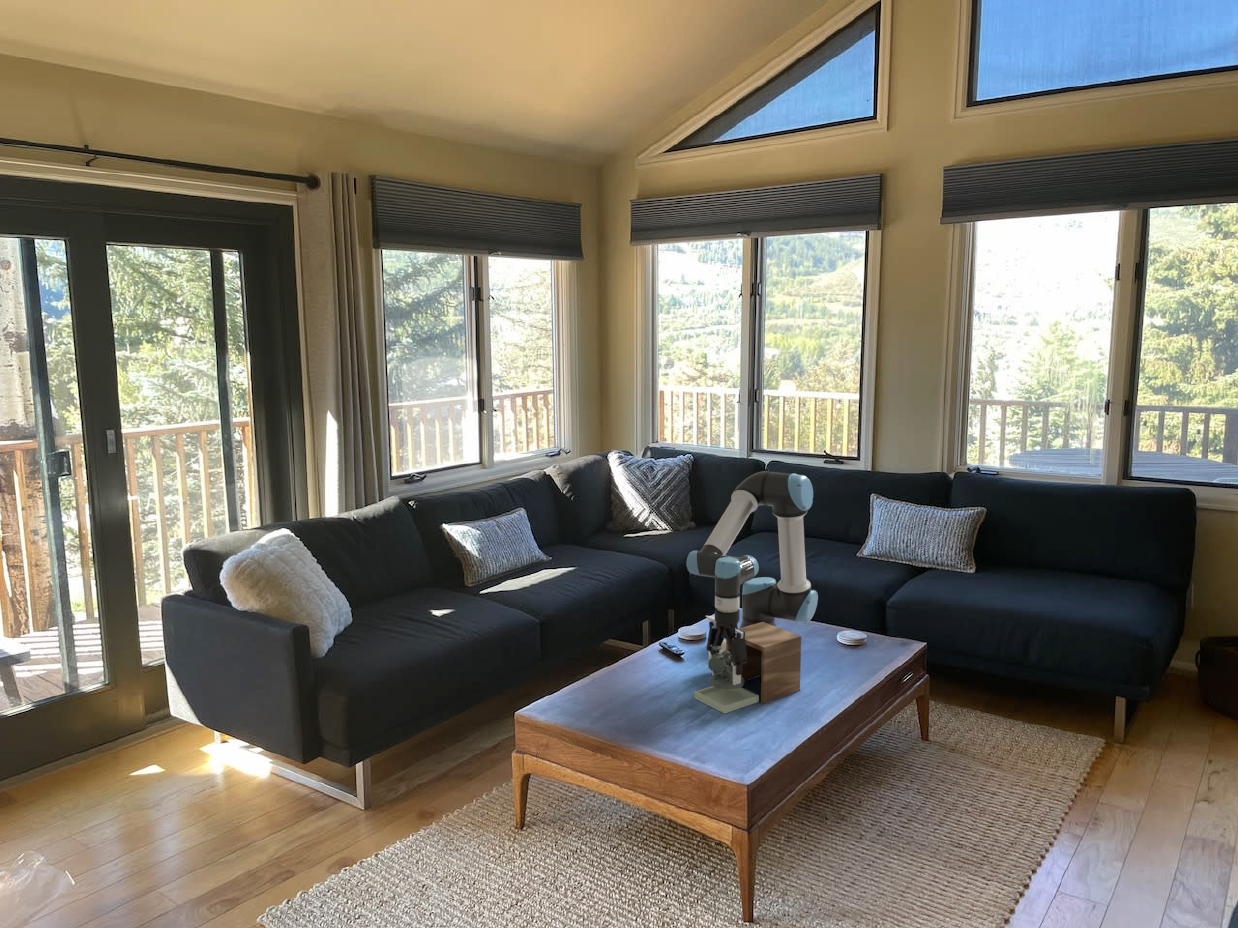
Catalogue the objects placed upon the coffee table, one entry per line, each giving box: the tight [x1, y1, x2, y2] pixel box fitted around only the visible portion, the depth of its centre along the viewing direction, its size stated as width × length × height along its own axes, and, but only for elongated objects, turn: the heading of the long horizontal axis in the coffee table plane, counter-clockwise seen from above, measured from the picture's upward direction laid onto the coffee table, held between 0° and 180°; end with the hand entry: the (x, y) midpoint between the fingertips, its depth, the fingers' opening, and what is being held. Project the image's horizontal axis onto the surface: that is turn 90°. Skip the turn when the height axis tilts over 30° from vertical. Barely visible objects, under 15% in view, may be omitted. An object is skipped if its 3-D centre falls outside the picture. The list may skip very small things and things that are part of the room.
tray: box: [693, 685, 760, 714], centre depth 296 cm, size 14×14×2 cm
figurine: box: [707, 645, 745, 689], centre depth 294 cm, size 11×11×12 cm
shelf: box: [725, 622, 802, 704], centre depth 303 cm, size 17×16×18 cm
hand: (726, 679), depth 295 cm, fingers closed on figurine, 9 cm apart
